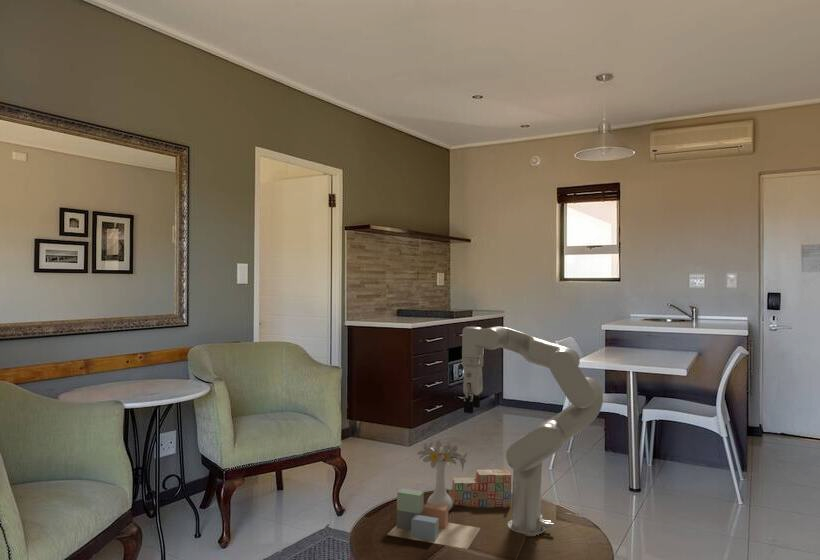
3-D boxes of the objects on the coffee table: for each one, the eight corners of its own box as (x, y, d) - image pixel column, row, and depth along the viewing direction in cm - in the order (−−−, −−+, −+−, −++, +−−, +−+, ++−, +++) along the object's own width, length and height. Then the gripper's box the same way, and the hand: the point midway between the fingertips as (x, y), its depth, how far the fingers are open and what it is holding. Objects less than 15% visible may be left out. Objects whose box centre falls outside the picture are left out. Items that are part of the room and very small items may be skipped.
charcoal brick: (423, 527, 200) (423, 509, 200) (419, 532, 196) (419, 513, 196) (400, 523, 203) (401, 505, 203) (396, 528, 199) (396, 510, 199)
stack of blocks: (454, 508, 221) (454, 474, 221) (451, 501, 227) (452, 469, 227) (511, 507, 222) (511, 474, 222) (507, 501, 228) (507, 469, 228)
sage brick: (423, 509, 200) (423, 491, 200) (419, 513, 196) (419, 495, 196) (401, 505, 203) (401, 488, 203) (396, 510, 199) (397, 492, 199)
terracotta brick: (448, 523, 203) (448, 506, 203) (444, 528, 200) (445, 510, 200) (426, 520, 206) (426, 502, 206) (422, 524, 202) (422, 506, 202)
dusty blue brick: (438, 536, 193) (438, 518, 193) (434, 541, 189) (435, 522, 189) (415, 532, 196) (415, 514, 196) (411, 537, 192) (411, 518, 192)
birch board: (480, 530, 200) (480, 527, 200) (467, 552, 185) (467, 549, 185) (405, 518, 210) (405, 515, 210) (386, 537, 194) (386, 534, 194)
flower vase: (469, 519, 210) (470, 448, 210) (417, 519, 209) (418, 448, 209) (464, 505, 223) (465, 438, 223) (415, 505, 222) (416, 438, 222)
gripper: (477, 365, 202) (476, 416, 202) (488, 359, 218) (487, 406, 218) (455, 364, 205) (455, 414, 205) (468, 358, 221) (467, 404, 221)
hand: (471, 410), depth 211 cm, fingers open, 9 cm apart
